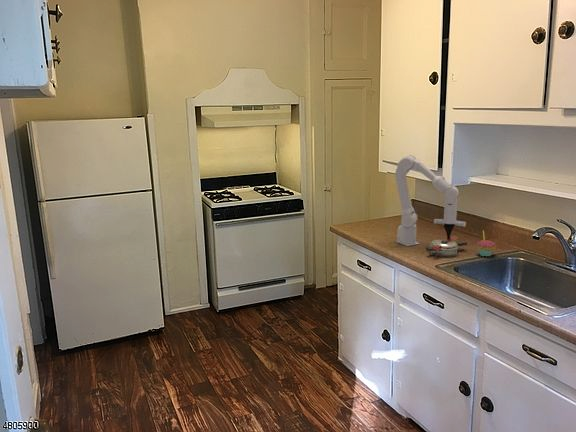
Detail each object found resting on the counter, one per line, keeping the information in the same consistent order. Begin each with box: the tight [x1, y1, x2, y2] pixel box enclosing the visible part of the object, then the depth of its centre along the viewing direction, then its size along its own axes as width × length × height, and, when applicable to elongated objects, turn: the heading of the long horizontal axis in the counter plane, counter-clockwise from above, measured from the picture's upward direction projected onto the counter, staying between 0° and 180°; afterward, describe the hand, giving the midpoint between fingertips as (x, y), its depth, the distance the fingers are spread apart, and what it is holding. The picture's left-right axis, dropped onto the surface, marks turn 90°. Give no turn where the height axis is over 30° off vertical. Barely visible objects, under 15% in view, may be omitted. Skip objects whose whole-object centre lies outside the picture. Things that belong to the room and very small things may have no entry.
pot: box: [425, 240, 468, 258], centre depth 229 cm, size 13×23×4 cm, turn 114°
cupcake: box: [475, 230, 497, 258], centre depth 224 cm, size 9×8×12 cm
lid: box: [431, 235, 458, 250], centre depth 229 cm, size 23×11×2 cm, turn 140°
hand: (448, 239), depth 236 cm, fingers closed, pressing on lid
